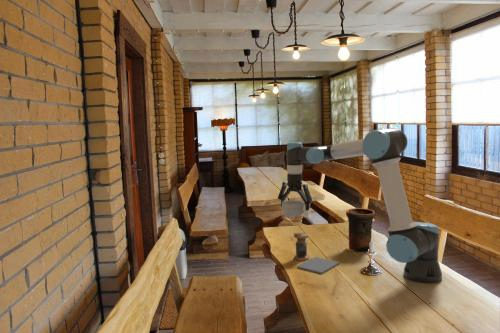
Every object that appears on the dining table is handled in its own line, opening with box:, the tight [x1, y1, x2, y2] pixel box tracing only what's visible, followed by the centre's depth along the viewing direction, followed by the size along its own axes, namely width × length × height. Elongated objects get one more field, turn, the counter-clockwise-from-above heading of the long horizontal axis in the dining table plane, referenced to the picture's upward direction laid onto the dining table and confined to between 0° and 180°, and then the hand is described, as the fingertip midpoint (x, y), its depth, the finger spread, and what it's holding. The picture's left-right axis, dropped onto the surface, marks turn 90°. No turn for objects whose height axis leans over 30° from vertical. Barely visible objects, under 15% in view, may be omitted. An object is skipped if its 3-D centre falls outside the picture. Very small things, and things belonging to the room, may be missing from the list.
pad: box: [296, 256, 340, 275], centre depth 197 cm, size 13×16×1 cm
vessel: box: [345, 207, 376, 253], centre depth 220 cm, size 14×14×20 cm
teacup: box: [282, 199, 311, 219], centre depth 215 cm, size 14×11×8 cm
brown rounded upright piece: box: [293, 232, 310, 262], centre depth 207 cm, size 7×7×12 cm
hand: (294, 215), depth 216 cm, fingers closed on teacup, 12 cm apart
